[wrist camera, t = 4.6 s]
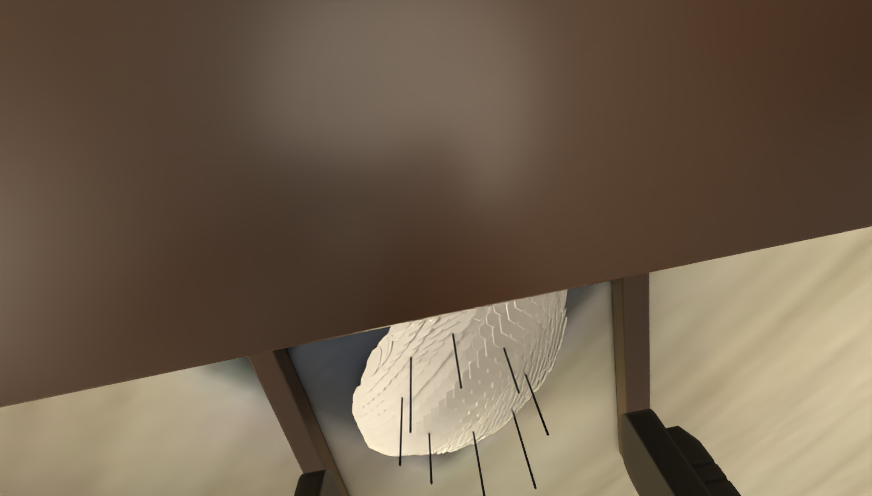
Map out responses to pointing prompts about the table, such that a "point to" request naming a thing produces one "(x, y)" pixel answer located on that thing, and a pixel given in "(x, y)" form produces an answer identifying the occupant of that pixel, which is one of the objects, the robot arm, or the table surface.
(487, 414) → the pincushion
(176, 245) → the box with long handles
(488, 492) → the table surface
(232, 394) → the table surface
